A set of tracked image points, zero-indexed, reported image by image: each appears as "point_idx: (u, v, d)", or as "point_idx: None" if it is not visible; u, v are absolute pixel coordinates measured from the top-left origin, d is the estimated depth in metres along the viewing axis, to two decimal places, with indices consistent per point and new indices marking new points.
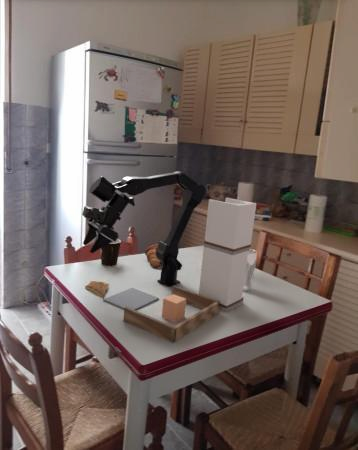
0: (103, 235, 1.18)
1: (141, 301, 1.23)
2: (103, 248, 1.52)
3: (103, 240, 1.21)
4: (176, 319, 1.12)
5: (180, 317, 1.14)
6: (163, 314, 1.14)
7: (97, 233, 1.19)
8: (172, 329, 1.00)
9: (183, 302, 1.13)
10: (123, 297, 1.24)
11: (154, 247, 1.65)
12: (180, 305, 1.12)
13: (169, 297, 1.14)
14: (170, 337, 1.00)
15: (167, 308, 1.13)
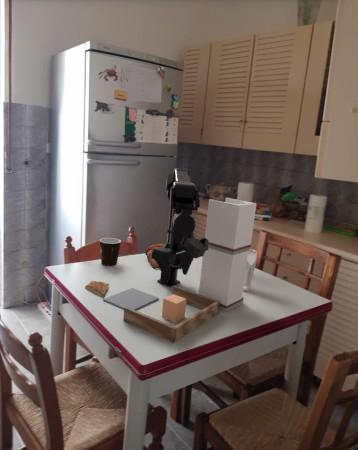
0: None
1: (141, 301, 1.23)
2: (103, 248, 1.52)
3: None
4: (176, 319, 1.12)
5: (180, 317, 1.14)
6: (163, 314, 1.14)
7: None
8: (172, 329, 1.00)
9: (183, 302, 1.13)
10: (123, 297, 1.24)
11: (154, 247, 1.65)
12: (180, 305, 1.12)
13: (169, 297, 1.14)
14: (170, 337, 1.00)
15: (167, 308, 1.13)
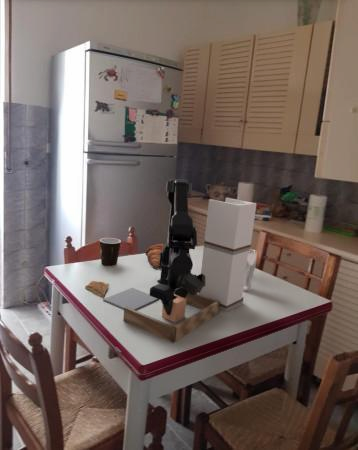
0: None
1: (141, 301, 1.23)
2: (103, 248, 1.52)
3: None
4: (176, 319, 1.12)
5: (180, 317, 1.14)
6: (163, 314, 1.14)
7: None
8: (172, 329, 1.00)
9: (183, 302, 1.13)
10: (123, 297, 1.24)
11: (155, 247, 1.65)
12: (180, 304, 1.12)
13: None
14: (170, 337, 1.00)
15: None
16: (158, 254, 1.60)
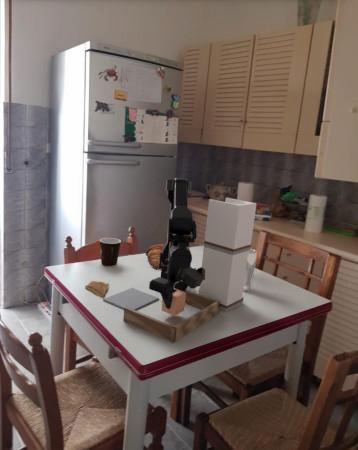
0: None
1: (141, 301, 1.23)
2: (103, 248, 1.52)
3: None
4: (176, 312, 1.12)
5: (180, 311, 1.14)
6: (163, 308, 1.14)
7: None
8: (172, 329, 1.00)
9: (183, 296, 1.13)
10: (123, 297, 1.24)
11: (155, 248, 1.65)
12: (180, 298, 1.12)
13: None
14: (170, 337, 1.00)
15: None
16: (158, 254, 1.60)
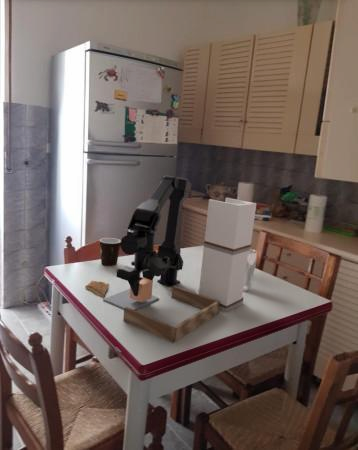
0: None
1: None
2: (103, 248, 1.52)
3: None
4: (143, 299, 1.19)
5: (147, 298, 1.21)
6: (131, 295, 1.21)
7: None
8: (172, 329, 1.00)
9: (150, 283, 1.20)
10: (123, 297, 1.24)
11: (155, 248, 1.65)
12: (147, 286, 1.19)
13: None
14: (170, 337, 1.00)
15: None
16: None
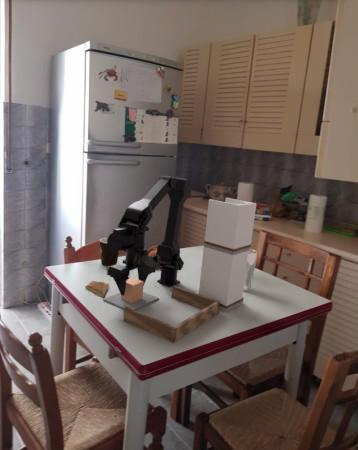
0: None
1: (141, 301, 1.23)
2: (103, 248, 1.52)
3: None
4: (133, 300, 1.21)
5: (138, 298, 1.23)
6: (122, 295, 1.23)
7: None
8: (172, 329, 1.00)
9: (140, 284, 1.23)
10: None
11: (156, 248, 1.64)
12: (137, 286, 1.22)
13: (128, 280, 1.24)
14: (170, 337, 1.00)
15: (125, 289, 1.22)
16: None
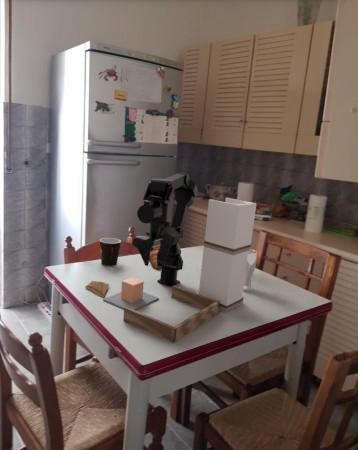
0: None
1: (141, 301, 1.23)
2: (103, 248, 1.52)
3: None
4: (133, 300, 1.21)
5: (138, 298, 1.23)
6: (122, 295, 1.23)
7: None
8: (172, 329, 1.00)
9: (140, 284, 1.23)
10: None
11: (156, 248, 1.64)
12: (137, 286, 1.22)
13: (128, 280, 1.24)
14: (170, 337, 1.00)
15: (125, 289, 1.22)
16: None
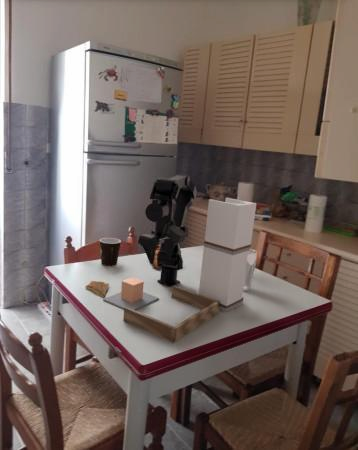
0: None
1: (141, 301, 1.23)
2: (103, 248, 1.52)
3: None
4: (133, 300, 1.21)
5: (138, 298, 1.23)
6: (122, 295, 1.23)
7: None
8: (172, 329, 1.00)
9: (140, 284, 1.23)
10: None
11: None
12: (137, 286, 1.22)
13: (128, 280, 1.24)
14: (170, 337, 1.00)
15: (125, 289, 1.22)
16: None
